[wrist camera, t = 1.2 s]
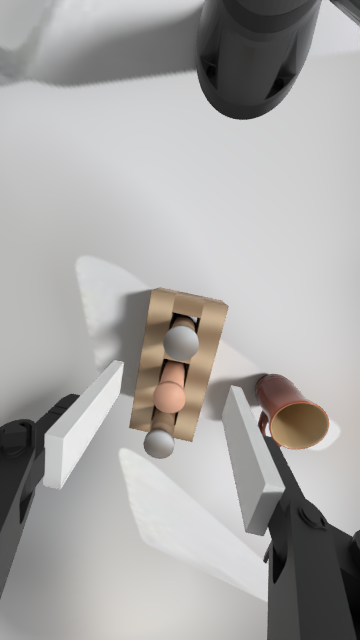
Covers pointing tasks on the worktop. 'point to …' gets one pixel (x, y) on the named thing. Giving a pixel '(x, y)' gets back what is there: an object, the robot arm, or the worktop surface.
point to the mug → (289, 414)
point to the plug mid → (170, 388)
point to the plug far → (160, 435)
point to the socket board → (196, 369)
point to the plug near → (181, 339)
